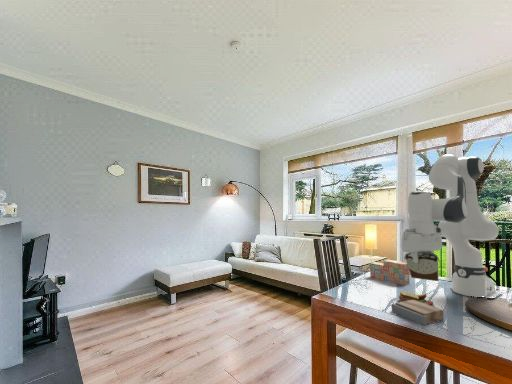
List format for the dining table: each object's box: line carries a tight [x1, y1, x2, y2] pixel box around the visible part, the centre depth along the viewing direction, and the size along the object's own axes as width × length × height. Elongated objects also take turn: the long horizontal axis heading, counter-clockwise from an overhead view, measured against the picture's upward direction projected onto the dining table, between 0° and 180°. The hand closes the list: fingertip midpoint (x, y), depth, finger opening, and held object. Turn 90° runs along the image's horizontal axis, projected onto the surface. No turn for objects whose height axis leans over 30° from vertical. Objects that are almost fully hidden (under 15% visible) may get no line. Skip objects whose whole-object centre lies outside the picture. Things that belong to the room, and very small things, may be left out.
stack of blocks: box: [369, 259, 410, 286], centre depth 151 cm, size 21×6×12 cm, turn 34°
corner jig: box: [391, 300, 428, 326], centre depth 100 cm, size 12×14×3 cm
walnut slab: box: [395, 300, 444, 324], centre depth 100 cm, size 11×12×4 cm
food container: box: [404, 251, 441, 282], centre depth 101 cm, size 12×6×10 cm, turn 45°
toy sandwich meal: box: [398, 290, 435, 307], centre depth 112 cm, size 12×14×5 cm
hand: (422, 262), depth 100 cm, fingers closed on food container, 6 cm apart
